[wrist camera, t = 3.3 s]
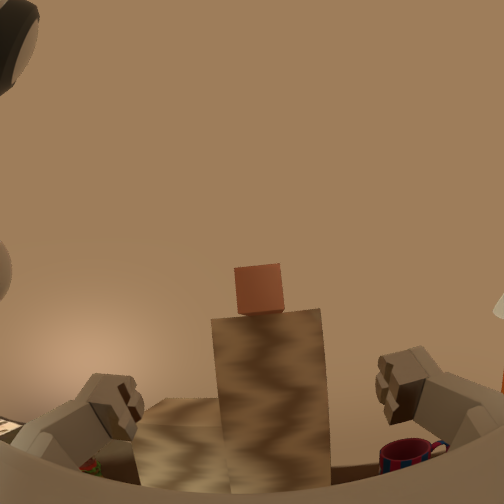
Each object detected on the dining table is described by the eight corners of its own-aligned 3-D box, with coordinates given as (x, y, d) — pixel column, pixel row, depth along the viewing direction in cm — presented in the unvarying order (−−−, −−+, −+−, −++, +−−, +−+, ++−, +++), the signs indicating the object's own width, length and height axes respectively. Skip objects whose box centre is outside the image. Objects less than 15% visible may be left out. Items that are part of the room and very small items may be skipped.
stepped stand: (154, 529, 22) (116, 323, 28) (181, 488, 33) (158, 324, 39) (330, 530, 20) (320, 308, 27) (318, 484, 32) (306, 312, 38)
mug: (375, 482, 29) (376, 443, 31) (441, 467, 27) (445, 428, 28) (379, 507, 23) (383, 465, 24) (455, 488, 20) (462, 445, 22)
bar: (237, 313, 19) (234, 267, 20) (255, 317, 37) (253, 293, 37) (284, 308, 19) (279, 263, 20) (280, 315, 36) (277, 291, 37)
